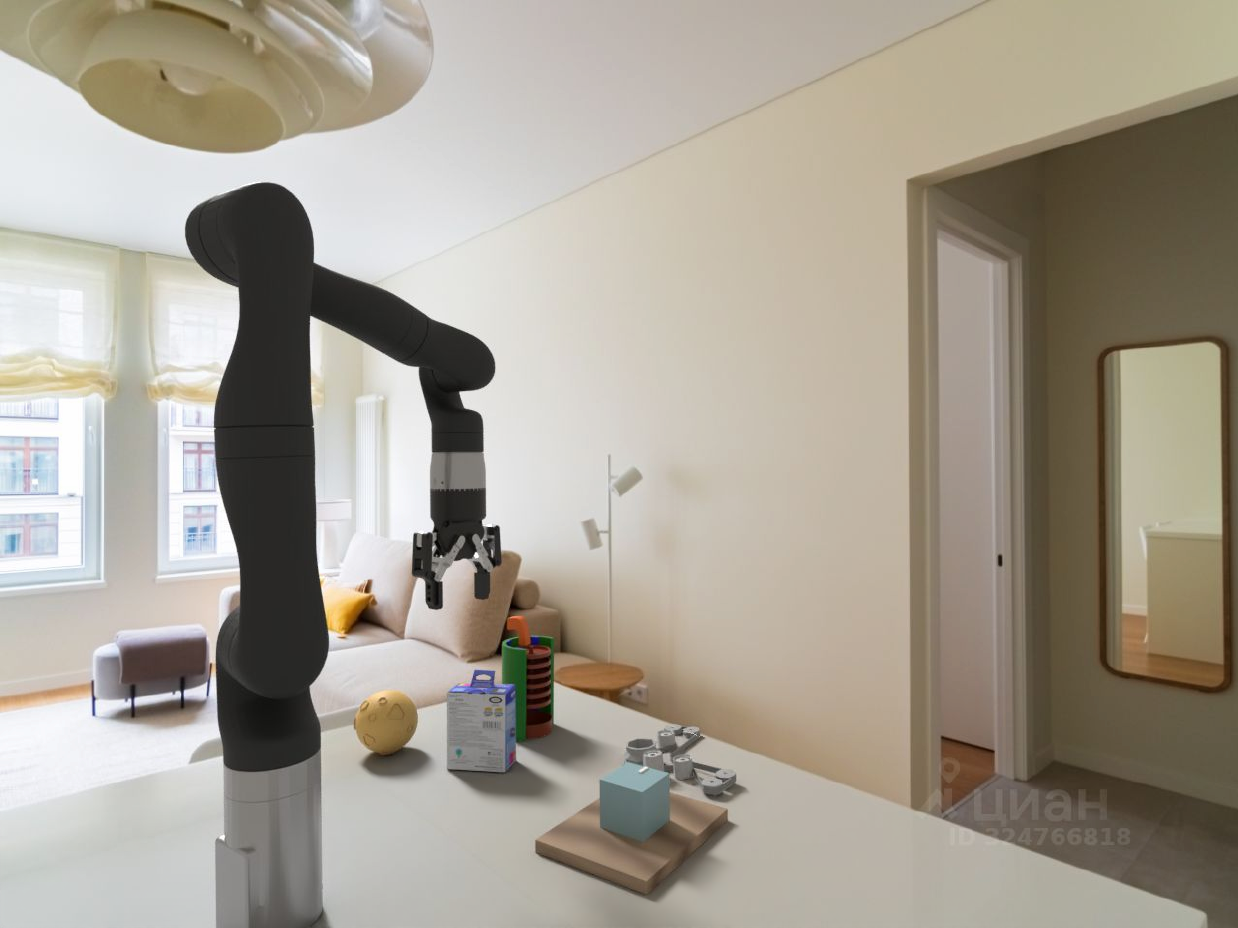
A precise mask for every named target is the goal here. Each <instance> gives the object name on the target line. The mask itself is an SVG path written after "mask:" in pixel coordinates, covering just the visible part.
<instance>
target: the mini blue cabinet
mask: <svg viewBox="0 0 1238 928" xmlns="http://www.w3.org/2000/svg"><path fill="white" fill-rule="evenodd" d="M670 780H671V779H670V773H669V772H668V771H664V772H663V771H659V770H655V769H652V768H649V767H646V766H645V767H644V766H641V765H637V764H633V763H630V762H627V763H626V764H624V763H623V764H622V765H621V766H619V767H617V768H616V769H615V770H612V771H611V772H609V773H608V774H606V775H604V776H602V777H601V778H600V779H599V798H600V827H601V828H604V829H607V830H609V831H612V832H615V833H618V834H621V835H624V836H627V837H630V838H633V839H636V840H639V841H642V842H643V841H645V840H646V839H647V838H648V837H650V836H651V835H652V834H653V833H655V832H656V831H657V830H658V829H660V828H661V827H662V826H663V825H665V824H666V823H667V822H668V821H669V820H670V792H671V790H670V785H671V784H670V782H671V781H670Z"/></svg>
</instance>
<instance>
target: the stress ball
mask: <svg viewBox="0 0 1238 928" xmlns="http://www.w3.org/2000/svg"><path fill="white" fill-rule="evenodd" d="M418 715H419V714H418V709H417V707H416V705H415V703H414V702H413V700H412V699H411V698H410V697H409V696H408V695H407V694H405V693H403V692H401V691H398V690H396V689H395V690H393V689H385V690H380V691H378V692H376V693H373V694H371V695H370V696H369V697H367V698H366V699H365V700H364V701H363V702H362V703H361V704H360V706H359V709H358V711H356V713H355V715H354V718H353V730H354V731H355V732H356V736H357V738H358V740H359V742H360V743H361V744H362V745H363V746H364V748H366V749H368V750H369V751H371V752H374V753H378V754H379V755H380V756H387V755H388V756H389V755H392V754H394V753H396V752H397V751H398V750H400V749H402V748H403V747H405V746H406V745H407V744H408V743H409V742H410V741H411V739H412V738H413V737H414V735H415V733H416V731H417V728H418V723H419V716H418Z"/></svg>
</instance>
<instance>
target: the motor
mask: <svg viewBox="0 0 1238 928" xmlns="http://www.w3.org/2000/svg"><path fill="white" fill-rule="evenodd" d="M506 629H507V631H509V630H510V631H512V630H513V631H514V630H515V631H516V632H517V634H518V636H515V637H511V638H507V639H505V640H503V641H502V642H501V643H502V644H501V684H513V685H515V694H516V742H517V741H518V742H526V741H527V739H531V740H533V739H539V738H544V737H546V736H548V735H550V734H551V733H552V732H553V724H554V722H555V721H554V715H555V713H554V712H555V711H554V709H555V707H554V706H555V704H554V703H555V695H554V694H555V688H554V687H555V638H554V637H552V636H545V635H531V634H530V629H529V625H528V621H527V620H526V617H524V616H522V615H513V616H510V617H507V620H506Z"/></svg>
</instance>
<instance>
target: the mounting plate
mask: <svg viewBox="0 0 1238 928" xmlns="http://www.w3.org/2000/svg"><path fill="white" fill-rule="evenodd" d="M728 811H729V809H728V808H727V807H723V806H720V805H716V804H712V803H708V802H705V801H702V800H699V799H696V798H695V799H694V798H691V797H687V796H684V795H681V794H678V793H674V792H671V791H670V820H669V821H668V822H667V823H666V824H665V825H663V826H662V827H661V828H660V829H658V830H657V831H656V832H655V833H653V834H652V835H651V836H650V837H648V838H647V839H646V840H645V841H643V842H642V841H639V840H636V839H633V838H630V837H627V836H624V835H621V834H618V833H615V832H612V831H609V830H607V829H604V828H601V827H600V797H598V798H597V799H595V800H594V801H593V802H591V803H589V804H587V805H586V806H585V807H584V808H581V809H580V810H578V811H577V812H576V813H574V814H573V815H571V816H569V817H567V818H566V819H565V820H563V821H561V822H560V823H559V824H557V825H555V826H554V827H553V828H551V829H549V830H548V831H546V832H545V833H543V834H542V835H540V836H539V837H538V838H535V841H534V844H535V847H534V848H535V853H537V854H538V855H539V854H540V855H542V856H544V857H548V858H550V859H552V860H555V861H558V862H560V863H563V864H566V865H569V866H570V867H573V868H576V869H579V870H581V871H584V872H586V873H589V874H591V875H593V876H597V877H599V878H600V879H601V878H602V879H604V880H607V881H609V882H612V883H615V884H617V885H620V886H623V887H625V888H628V889H630V890H633V891H635V892H638V893H641V894H643V895H646V896H648V894H650V893H651V892H652V891H653V890H654V889H655V888H656V887H657V886H658V885H659V884H660V883H661V882H662V881H664V880H665V879H666V878H667V877H668V876H669V875H670V874H671V873H672V872H674V870H676V868H677V867H679V866H680V865H681V864H682V863H683V862H684V861H686V859H687V858H689V857H690V855H692V854H693V853H694V852H695V851H696V850H698V848H699V847H701V845H703V843H705V842H706V841H707V840H708V839H709V838H710V837H712V835H714V834H715V833H716V832H717V831H718V830H719V829H720V828H721V827H723V825H724V824H725V823H727V822H728V820H729V817H728V816H729V813H728Z"/></svg>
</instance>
